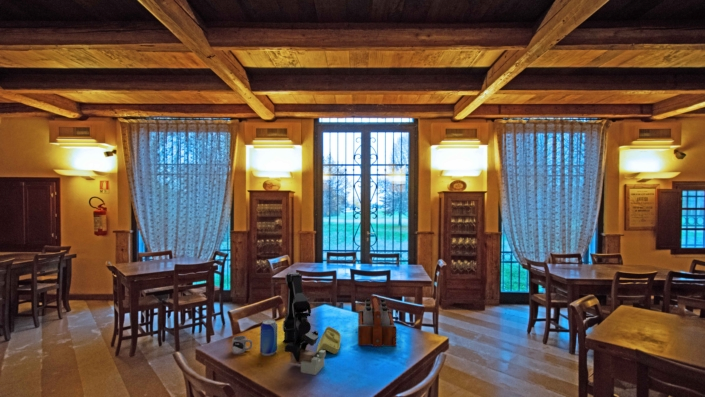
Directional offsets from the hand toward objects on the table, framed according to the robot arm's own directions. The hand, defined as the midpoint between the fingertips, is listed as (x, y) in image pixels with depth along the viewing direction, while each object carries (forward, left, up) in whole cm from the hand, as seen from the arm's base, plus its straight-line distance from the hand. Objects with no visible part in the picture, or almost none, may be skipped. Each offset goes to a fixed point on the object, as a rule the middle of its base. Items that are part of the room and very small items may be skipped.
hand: (299, 359), depth 152 cm
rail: (+2, 0, -1) cm, 2 cm away
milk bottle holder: (+24, +49, -4) cm, 55 cm away
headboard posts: (+6, 0, -3) cm, 7 cm away
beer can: (-22, +7, -3) cm, 23 cm away
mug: (-36, +4, -3) cm, 36 cm away
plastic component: (+5, +25, -4) cm, 26 cm away
